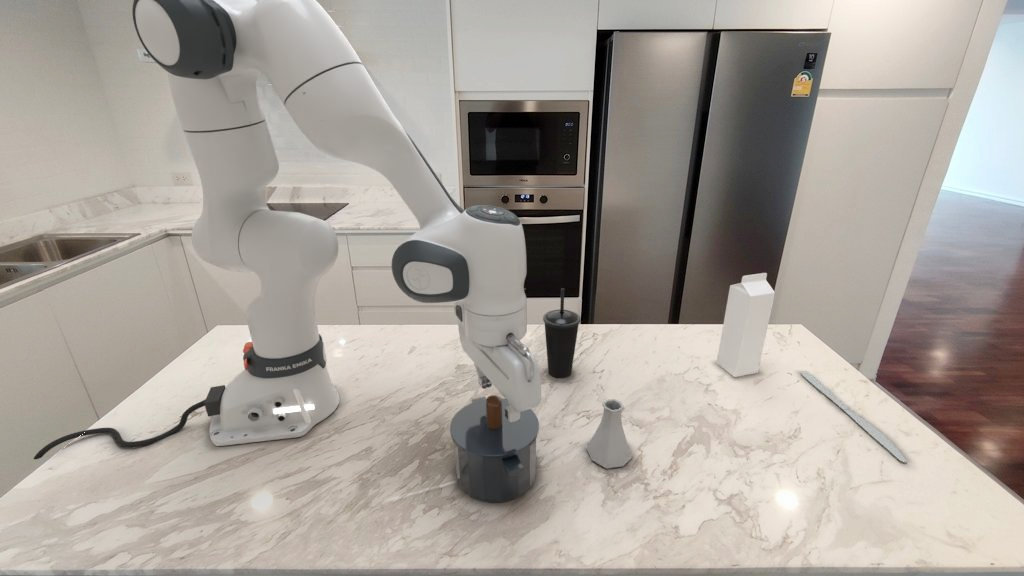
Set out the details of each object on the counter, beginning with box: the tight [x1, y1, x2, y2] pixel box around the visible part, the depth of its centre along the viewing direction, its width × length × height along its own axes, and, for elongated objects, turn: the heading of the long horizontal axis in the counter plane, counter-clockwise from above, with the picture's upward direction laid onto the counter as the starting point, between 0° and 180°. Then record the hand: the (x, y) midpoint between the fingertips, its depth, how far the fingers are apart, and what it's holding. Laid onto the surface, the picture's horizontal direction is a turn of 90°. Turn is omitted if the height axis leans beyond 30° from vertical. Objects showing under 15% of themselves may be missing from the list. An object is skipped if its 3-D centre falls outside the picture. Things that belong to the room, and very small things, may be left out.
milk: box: [716, 272, 776, 378], centre depth 101 cm, size 6×6×22 cm
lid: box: [449, 395, 540, 459], centre depth 73 cm, size 14×14×6 cm
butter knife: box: [800, 370, 908, 464], centre depth 90 cm, size 1×27×3 cm
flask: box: [586, 398, 633, 469], centre depth 79 cm, size 7×7×10 cm
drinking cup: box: [542, 287, 582, 380], centre depth 100 cm, size 8×8×20 cm
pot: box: [453, 396, 537, 504], centre depth 76 cm, size 13×18×9 cm
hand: (498, 401), depth 74 cm, fingers open, 8 cm apart
